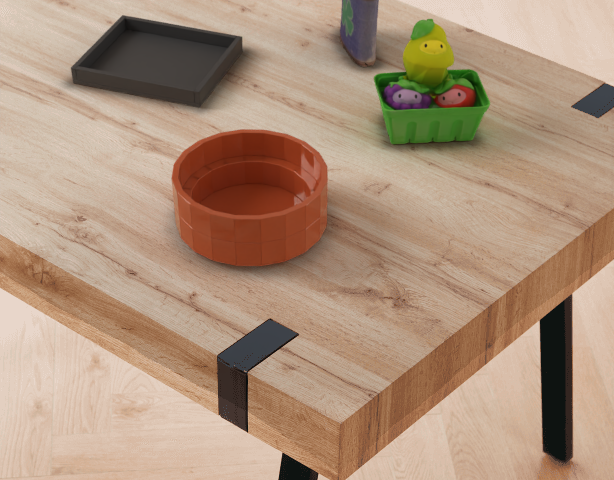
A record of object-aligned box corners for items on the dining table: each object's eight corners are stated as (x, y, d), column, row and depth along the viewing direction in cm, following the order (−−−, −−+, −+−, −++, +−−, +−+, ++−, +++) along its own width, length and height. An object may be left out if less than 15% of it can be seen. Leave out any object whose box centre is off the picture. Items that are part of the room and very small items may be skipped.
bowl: (152, 252, 99) (146, 200, 95) (210, 168, 109) (207, 118, 105) (299, 285, 97) (299, 232, 93) (344, 195, 107) (346, 145, 103)
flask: (378, 66, 126) (383, -20, 119) (354, 69, 126) (357, -18, 118) (357, 29, 133) (360, -55, 126) (334, 31, 132) (336, -53, 125)
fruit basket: (381, 152, 113) (386, 56, 105) (368, 107, 119) (373, 13, 112) (486, 147, 115) (499, 52, 107) (468, 103, 121) (480, 10, 114)
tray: (72, 83, 120) (70, 67, 119) (124, 29, 130) (122, 14, 128) (200, 108, 118) (199, 92, 116) (242, 51, 127) (242, 36, 126)
